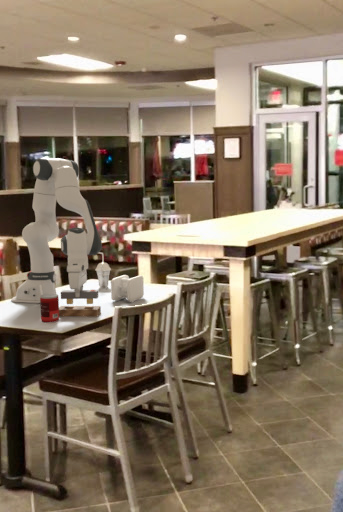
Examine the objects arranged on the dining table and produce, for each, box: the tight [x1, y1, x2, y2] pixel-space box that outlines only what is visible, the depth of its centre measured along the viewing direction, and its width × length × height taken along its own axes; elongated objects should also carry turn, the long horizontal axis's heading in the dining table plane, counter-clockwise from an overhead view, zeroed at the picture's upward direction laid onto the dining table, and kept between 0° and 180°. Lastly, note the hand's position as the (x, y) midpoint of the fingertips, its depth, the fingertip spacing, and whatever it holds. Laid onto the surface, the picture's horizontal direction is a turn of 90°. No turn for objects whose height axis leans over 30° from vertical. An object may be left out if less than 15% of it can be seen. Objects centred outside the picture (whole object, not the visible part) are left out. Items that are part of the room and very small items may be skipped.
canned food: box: [39, 293, 60, 323], centre depth 294 cm, size 8×8×11 cm
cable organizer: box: [110, 274, 145, 303], centre depth 336 cm, size 15×11×12 cm
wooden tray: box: [59, 305, 102, 318], centre depth 305 cm, size 18×8×3 cm, turn 85°
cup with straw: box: [95, 251, 112, 289], centre depth 369 cm, size 8×9×20 cm
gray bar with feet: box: [60, 289, 99, 305], centre depth 304 cm, size 16×4×6 cm, turn 86°
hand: (79, 295), depth 304 cm, fingers closed on gray bar with feet, 4 cm apart
